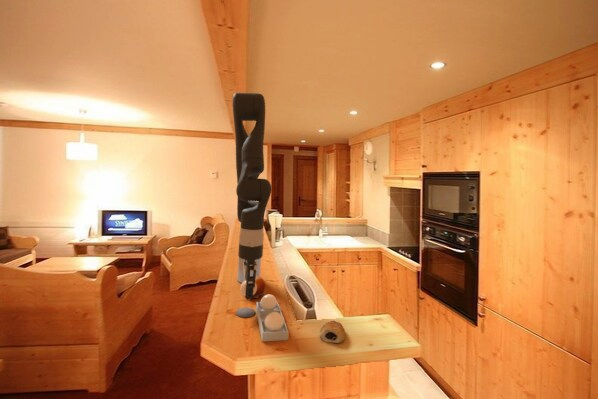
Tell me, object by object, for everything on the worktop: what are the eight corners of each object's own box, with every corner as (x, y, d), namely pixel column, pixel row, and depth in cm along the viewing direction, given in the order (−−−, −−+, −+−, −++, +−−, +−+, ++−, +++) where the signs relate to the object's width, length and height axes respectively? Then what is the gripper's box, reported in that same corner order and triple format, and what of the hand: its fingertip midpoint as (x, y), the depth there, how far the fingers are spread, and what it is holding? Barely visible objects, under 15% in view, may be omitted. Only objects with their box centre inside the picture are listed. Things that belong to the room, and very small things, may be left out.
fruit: (263, 298, 100) (254, 277, 101) (245, 306, 102) (236, 285, 103) (273, 290, 107) (264, 271, 108) (256, 298, 110) (247, 278, 111)
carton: (256, 309, 94) (256, 302, 94) (277, 308, 96) (277, 301, 96) (261, 341, 76) (262, 332, 76) (288, 339, 77) (288, 331, 77)
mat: (235, 309, 93) (235, 308, 93) (254, 308, 95) (254, 307, 95) (236, 317, 88) (236, 316, 87) (255, 317, 89) (255, 315, 89)
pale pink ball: (239, 292, 93) (240, 277, 93) (255, 292, 95) (256, 276, 94) (240, 299, 88) (241, 283, 88) (257, 299, 90) (258, 283, 89)
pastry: (324, 325, 87) (325, 313, 87) (346, 330, 85) (348, 317, 85) (318, 341, 78) (319, 327, 78) (343, 346, 76) (344, 332, 76)
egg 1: (259, 307, 94) (260, 291, 94) (275, 307, 95) (276, 291, 95) (260, 314, 89) (261, 298, 89) (277, 314, 90) (278, 298, 90)
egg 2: (263, 326, 82) (264, 309, 81) (281, 326, 83) (282, 308, 83) (265, 336, 77) (266, 317, 76) (284, 335, 78) (285, 316, 78)
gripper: (238, 236, 96) (235, 286, 97) (239, 248, 82) (237, 305, 84) (260, 237, 98) (258, 285, 99) (266, 248, 84) (262, 304, 85)
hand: (248, 294), depth 91 cm, fingers closed on pale pink ball, 5 cm apart
